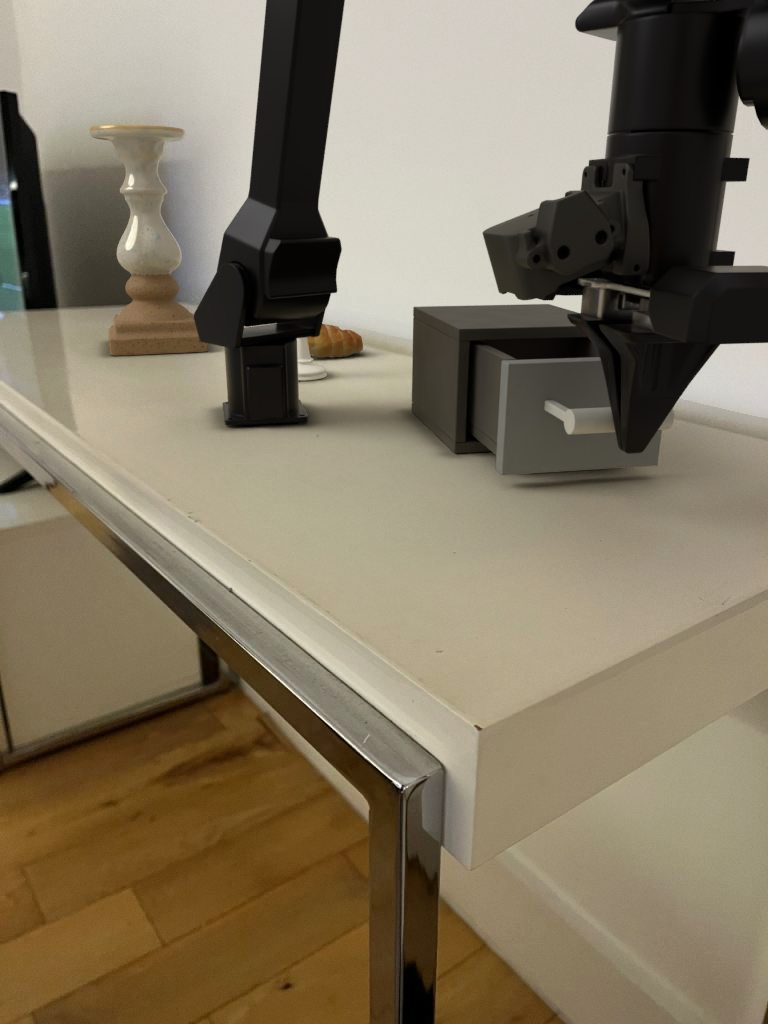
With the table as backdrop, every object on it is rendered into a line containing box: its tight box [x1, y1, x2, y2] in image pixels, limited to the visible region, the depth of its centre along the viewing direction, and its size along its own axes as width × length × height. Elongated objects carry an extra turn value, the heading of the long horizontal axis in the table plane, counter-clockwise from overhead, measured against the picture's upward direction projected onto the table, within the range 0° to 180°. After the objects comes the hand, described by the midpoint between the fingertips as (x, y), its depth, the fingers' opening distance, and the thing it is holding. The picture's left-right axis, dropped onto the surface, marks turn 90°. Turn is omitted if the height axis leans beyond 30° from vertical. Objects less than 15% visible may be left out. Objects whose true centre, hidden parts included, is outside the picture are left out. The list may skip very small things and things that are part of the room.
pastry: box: [307, 323, 364, 359], centre depth 93 cm, size 9×7×4 cm
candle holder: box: [89, 124, 209, 356], centre depth 95 cm, size 11×11×24 cm
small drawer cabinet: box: [411, 303, 587, 454], centre depth 63 cm, size 13×12×9 cm
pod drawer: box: [466, 337, 675, 476], centre depth 53 cm, size 16×10×7 cm, turn 12°
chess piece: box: [297, 337, 328, 382], centre depth 81 cm, size 5×5×10 cm
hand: (630, 451), depth 44 cm, fingers closed
